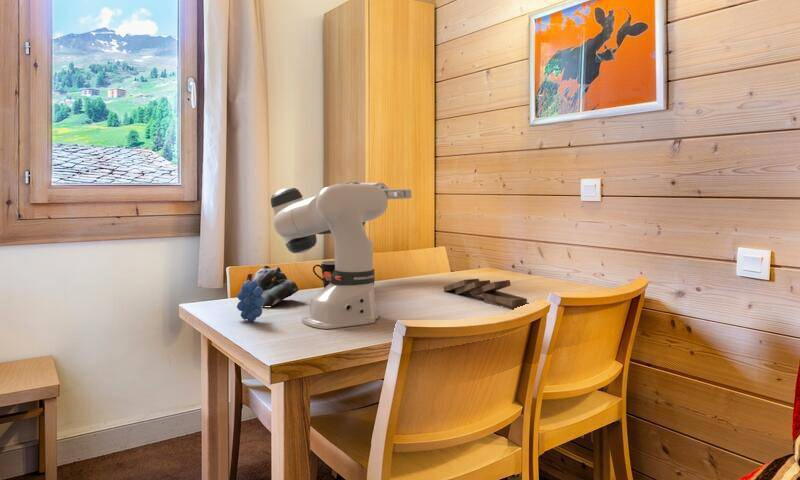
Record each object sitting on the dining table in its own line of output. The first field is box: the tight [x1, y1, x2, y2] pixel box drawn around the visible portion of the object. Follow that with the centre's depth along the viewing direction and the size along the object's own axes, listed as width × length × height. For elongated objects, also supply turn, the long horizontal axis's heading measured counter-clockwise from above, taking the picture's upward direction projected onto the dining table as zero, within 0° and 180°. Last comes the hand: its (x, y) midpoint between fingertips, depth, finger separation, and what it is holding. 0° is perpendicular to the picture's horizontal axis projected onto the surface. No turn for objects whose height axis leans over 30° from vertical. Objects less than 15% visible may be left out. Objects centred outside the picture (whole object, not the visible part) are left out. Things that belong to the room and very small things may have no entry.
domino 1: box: [443, 278, 480, 293], centre depth 198 cm, size 6×2×15 cm
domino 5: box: [483, 298, 530, 310], centre depth 180 cm, size 6×2×15 cm
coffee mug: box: [312, 260, 335, 289], centre depth 208 cm, size 12×9×10 cm
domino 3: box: [470, 279, 512, 297], centre depth 185 cm, size 6×2×15 cm
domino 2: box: [454, 279, 491, 295], centre depth 192 cm, size 6×2×15 cm
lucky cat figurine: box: [244, 265, 299, 307], centre depth 183 cm, size 15×12×14 cm
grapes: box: [236, 281, 265, 323], centre depth 159 cm, size 12×7×12 cm, turn 50°
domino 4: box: [481, 290, 528, 306], centre depth 180 cm, size 6×2×15 cm
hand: (399, 194), depth 208 cm, fingers closed
